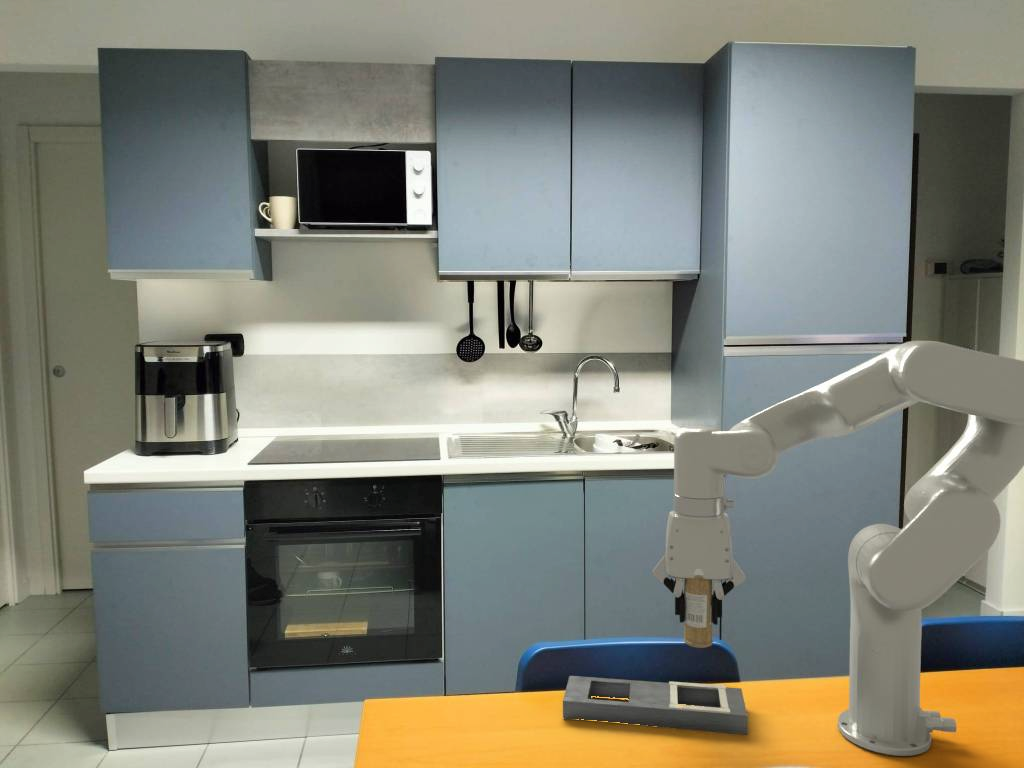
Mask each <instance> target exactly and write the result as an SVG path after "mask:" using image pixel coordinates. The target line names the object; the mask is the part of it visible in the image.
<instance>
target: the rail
mask: <svg viewBox="0 0 1024 768" xmlns="http://www.w3.org/2000/svg"><path fill="white" fill-rule="evenodd" d="M563 695H564V696H563V698H562V699H563V700H562V719H563V718H564V719H563V720H567V719H579V720H581V719H584V720H597V721H608V722H620V723H628V724H640V725H648V726H647V727H649V726H657V727H656V728H661V727H668V728H667V729H673V728H676V730H684V731H685V730H687V731H699V732H709V733H710V732H711V733H722V734H735V735H743V736H744V735H746V736H748V712H747V708H746V702H745V699H744V693H743V690H742V688H741V687H740V688H739V687H730V686H726V685H724V684H723V685H722V684H711V683H696V682H681V681H668V682H661V681H660V682H658V681H648V680H647V681H645V680H634V679H632V680H630V679H618V678H605V677H594V676H579V675H569V676H568V680H567V684H566V688H565V691H564V694H563ZM591 696H596V697H597V696H599V697H610V698H613V697H615V698H628V699H629V701H621V700H609V699H596V698H591ZM678 704H686V705H678ZM691 705H694V706H691ZM703 706H704V707H703ZM579 720H578V721H579Z"/></svg>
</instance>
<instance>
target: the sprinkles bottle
mask: <svg viewBox="0 0 1024 768" xmlns="http://www.w3.org/2000/svg"><path fill="white" fill-rule="evenodd" d="M694 575H697V576H695V577H694V578H693V579H685V581H684V585H683V588H684V589H683V593H684V622H683V623H684V626H683V627H684V635H683V636H684V637H683V642H684V643H685V644H686V645H688V646H689V647H693V648H699V649H702V648H703V649H705V648H708V647H711V646H712V645H713V643H714V640H713V622H712V595H713V580H706V579H703V578H704V577H702V576H700V575H704V573H703V571H702V570H701V569H697V570H696V571H695V572H694Z"/></svg>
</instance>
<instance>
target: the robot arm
mask: <svg viewBox="0 0 1024 768" xmlns="http://www.w3.org/2000/svg"><path fill="white" fill-rule="evenodd" d="M919 402H921V403H926V404H929V405H932V406H935V407H940V408H943V409H946V410H950V411H954V412H959V413H961V414H967V421H966V422H967V423H966V427H965V429H964V431H963V433H962V434H961V436H960V437H959V438H958V439H957V440H956V442H955V443H954V444H953V445H952V446H951V448H950V449H949V450H948V451H947V452H946V453H945V454H944V455H943V456H942V457H941V458H940V459H939V460H938V461H937V462H936V463H935V464H933V466H932V467H930V469H929V470H928V471H927V472H926V473H925V474H924V475H923V476H922V477H921V478H920V479H918V480H917V482H915V483H914V484H913V485H912V486H911V487H910V488H909V490H908V492H907V493H906V495H905V498H904V503H903V507H904V508H903V509H904V513H905V515H906V517H907V519H908V520H909V521H908V522H907V523H906V524H905V525H904V526H903V527H902V528H899V527H897V526H894V525H891V524H887V523H875V524H871V525H868V526H865V527H863V528H862V529H861V530H859V531H858V532H857V533H856V534H855V536H854V537H853V538H852V540H851V542H850V545H849V549H848V554H847V568H848V569H847V571H848V580H849V581H848V582H849V597H850V599H849V600H850V601H849V602H850V623H849V625H850V626H849V678H848V679H849V682H848V683H849V684H848V685H849V687H848V689H849V693H848V709H845V710H844V711H841V713H840V714H839V715H838V718H837V728H838V731H839V732H840V734H841V735H842V736H843V737H844V738H845V739H847V740H848V741H849V742H851V743H853V744H855V745H857V746H858V747H861V748H863V749H865V750H868V751H871V752H875V753H876V754H877V753H879V754H882V755H889V756H895V757H896V756H897V757H907V756H908V757H910V756H916V755H917V756H918V755H920V754H923V753H925V752H927V751H928V750H929V749H930V747H931V746H932V735H931V734H932V733H933V732H934V731H940V732H946V733H956V732H957V723H956V720H955V718H953V717H941V713H940V711H937V710H923V708H922V707H921V706H920V705H921V664H922V662H921V661H922V660H921V659H922V658H921V657H922V653H921V652H922V635H923V633H922V629H923V628H922V627H923V626H922V625H923V623H922V610H923V609H925V608H926V607H928V606H930V605H932V604H933V603H934V602H936V601H937V600H938V599H940V598H941V597H942V596H943V595H944V594H945V593H946V592H947V591H948V590H949V589H950V588H951V587H952V586H953V585H955V584H956V583H957V582H958V581H959V579H961V578H962V577H963V576H964V575H965V574H966V573H968V571H970V569H971V568H972V567H973V566H975V564H977V563H978V562H979V561H980V560H981V559H982V558H983V557H984V556H985V555H986V553H988V551H989V550H990V549H991V548H992V546H993V545H994V543H995V542H996V540H997V538H998V535H999V533H1000V529H1001V514H1000V511H999V509H998V508H999V507H998V506H997V504H996V502H995V501H994V500H995V499H996V498H997V497H998V496H999V495H1000V494H1001V493H1002V492H1003V491H1005V490H1004V489H1006V487H1007V486H1008V485H1009V484H1010V483H1011V482H1012V481H1013V480H1014V479H1015V478H1016V477H1017V475H1018V474H1019V473H1020V472H1021V470H1022V469H1023V468H1024V360H1023V359H1021V360H1020V359H1016V358H1012V357H1008V356H1002V355H999V354H998V355H997V354H993V353H987V352H982V351H979V350H974V349H971V348H970V349H969V348H965V347H962V346H958V345H954V344H950V343H946V342H942V341H935V340H910V341H905V342H903V343H901V344H899V345H896V346H894V347H892V348H891V349H890V348H889V349H888V350H886V351H883V352H882V353H881V354H880V353H879V354H878V355H876V356H874V357H872V358H870V359H868V360H866V361H864V362H862V363H860V364H857V365H856V366H854V367H852V368H850V369H848V370H846V371H844V372H842V373H840V374H838V375H836V376H834V377H832V378H830V379H828V380H825V381H824V382H822V383H819V384H817V385H815V386H812V387H810V388H808V389H806V390H804V391H802V392H801V393H799V394H796V395H793V396H791V397H790V398H787V399H785V400H782V401H780V402H778V403H775V404H774V405H772V406H770V407H768V408H765V409H764V410H762V411H760V412H757V413H756V414H753V415H752V416H750V417H747V418H745V419H743V420H741V421H740V422H738V423H736V424H734V425H733V426H732V427H731V428H730V429H729V430H727V431H724V430H721V429H719V428H717V427H714V426H707V425H706V426H705V425H689V426H688V425H687V426H683V427H679V428H678V429H677V430H676V431H675V434H674V441H673V444H674V445H673V449H674V452H673V458H674V459H673V460H674V461H673V462H674V463H673V510H671V511H669V513H668V518H667V524H666V531H665V532H666V533H665V548H664V551H665V553H664V555H663V556H662V557H661V558H660V560H659V561H658V562H657V564H656V565H655V567H654V568H653V569H652V571H651V572H652V573H651V574H652V576H653V578H655V579H656V580H657V581H659V582H660V583H661V584H663V585H664V586H665V587H666V588H667V589H668V590H669V591H670V592H671V593H672V594H673V596H674V616H679V617H678V618H679V623H684V589H683V588H684V581H685V579H693V578H694V577H695V576H697V575H694V572H695V571H696V570H697V569H701V570H702V571H703V573H704V575H700V576H702V577H704V578H703V579H706V580H712V585H713V588H714V590H712V622H713V623H712V625H714V626H715V625H716V626H718V623H719V620H718V619H719V618H720V619H721V618H723V599H725V596H727V594H729V593H730V592H731V591H732V590H733V589H734V588H735V587H737V586H739V585H740V584H742V583H743V582H746V580H747V577H746V575H745V573H744V572H743V570H742V569H741V567H740V566H739V565H738V563H737V561H735V559H734V557H733V545H732V534H731V524H730V519H729V514H728V513H726V512H725V511H726V510H728V509H734V499H731V498H730V499H729V498H726V496H724V494H725V493H724V492H725V491H724V489H725V488H724V485H725V484H724V483H725V480H724V479H725V478H724V477H725V476H730V477H736V478H743V479H751V480H752V479H753V480H754V479H760V478H763V477H765V476H767V475H769V474H770V473H771V472H772V471H774V469H775V468H776V466H777V463H778V461H779V455H780V454H784V453H785V452H787V451H790V450H791V449H793V448H796V447H798V446H800V445H803V444H806V443H809V442H812V441H815V440H819V439H826V438H836V437H837V438H838V437H843V436H847V435H851V434H854V433H856V432H859V431H861V430H863V429H865V428H867V427H869V426H871V425H872V424H874V423H876V422H879V421H880V420H883V419H885V418H887V417H890V416H891V415H893V414H896V413H897V412H899V411H902V410H904V409H906V408H908V407H911V406H913V405H914V404H917V403H919ZM665 572H666V573H665ZM732 574H733V575H732ZM673 578H674V579H673ZM722 581H723V582H722Z"/></svg>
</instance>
